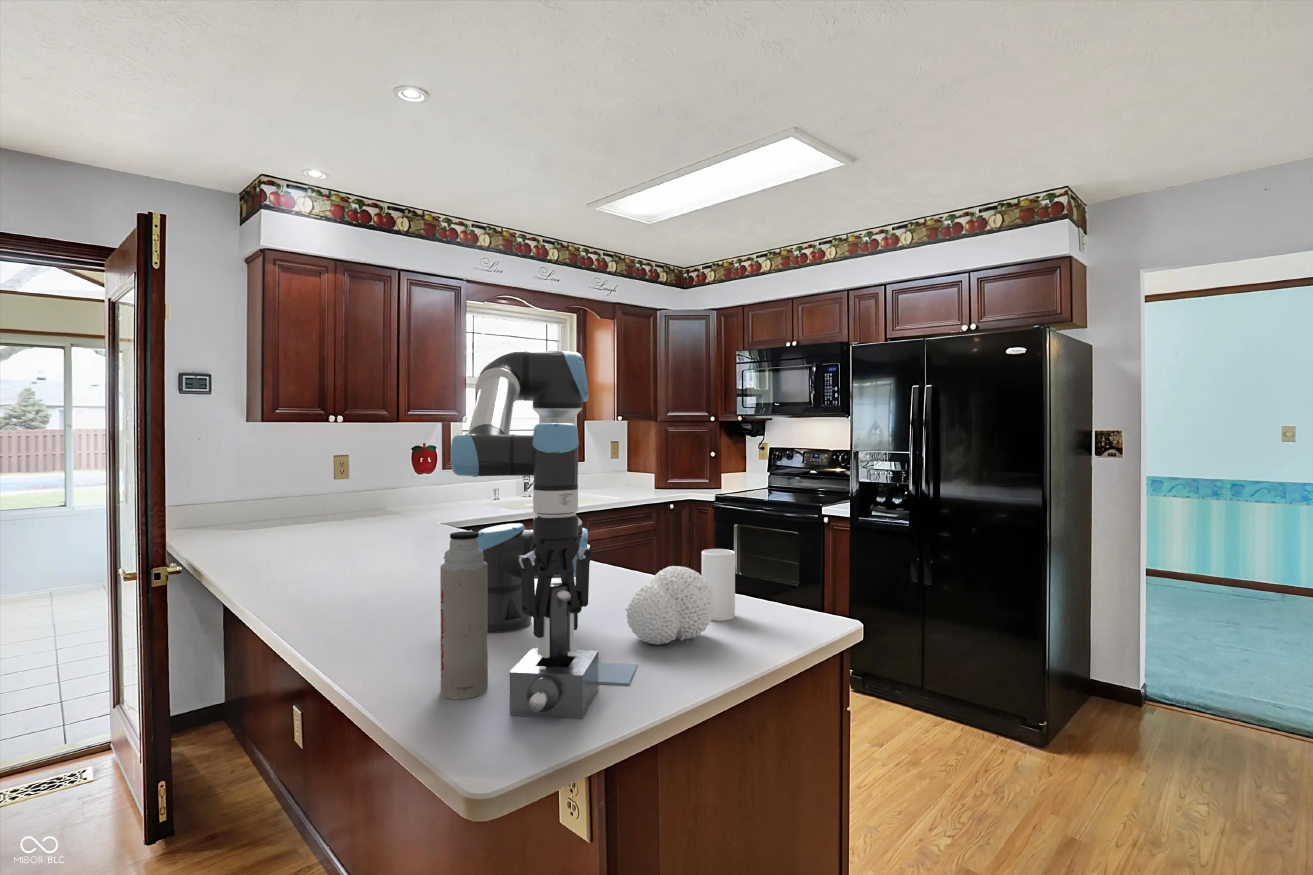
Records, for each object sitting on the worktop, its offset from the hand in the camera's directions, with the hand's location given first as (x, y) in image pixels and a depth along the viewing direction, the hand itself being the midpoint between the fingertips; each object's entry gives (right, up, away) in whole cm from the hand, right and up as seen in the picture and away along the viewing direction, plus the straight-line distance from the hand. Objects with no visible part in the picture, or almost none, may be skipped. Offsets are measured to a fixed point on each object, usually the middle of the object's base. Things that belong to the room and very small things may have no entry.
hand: (555, 652), depth 113 cm
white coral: (+21, -8, +34) cm, 40 cm away
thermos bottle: (-17, -9, +5) cm, 20 cm away
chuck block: (0, -8, -2) cm, 9 cm away
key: (0, -5, 0) cm, 5 cm away
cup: (+32, -8, +53) cm, 62 cm away
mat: (+8, -8, +13) cm, 17 cm away
